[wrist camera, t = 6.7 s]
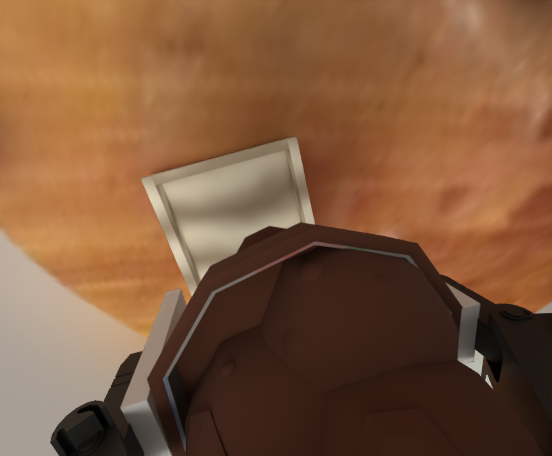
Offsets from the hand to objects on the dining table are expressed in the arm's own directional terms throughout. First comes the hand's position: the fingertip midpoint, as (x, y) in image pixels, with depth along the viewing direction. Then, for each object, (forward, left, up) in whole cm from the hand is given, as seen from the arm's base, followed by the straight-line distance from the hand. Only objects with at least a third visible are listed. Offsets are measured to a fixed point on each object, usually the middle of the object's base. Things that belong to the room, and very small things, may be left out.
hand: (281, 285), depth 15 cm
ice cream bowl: (0, 0, -3) cm, 3 cm away
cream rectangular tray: (+5, -2, -18) cm, 18 cm away
